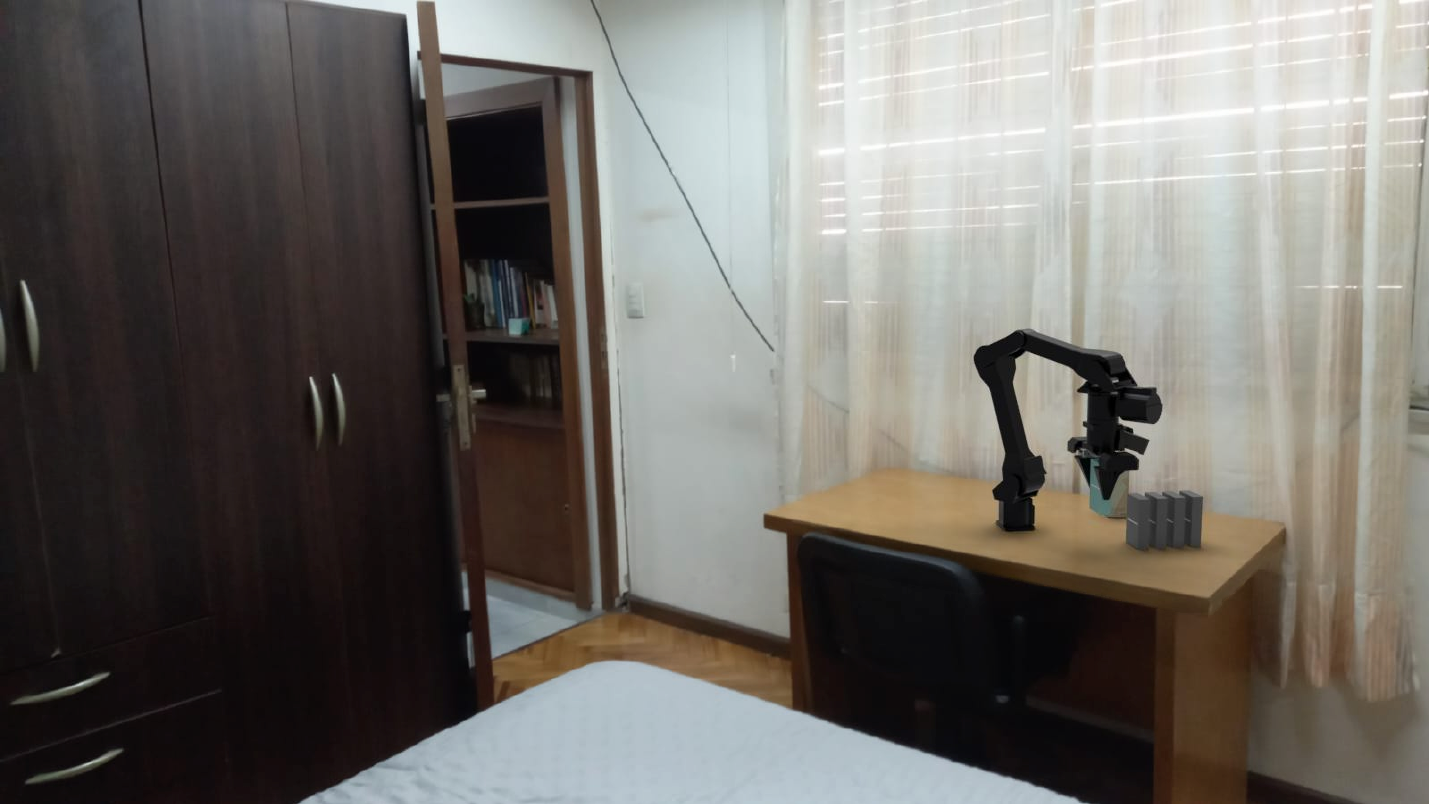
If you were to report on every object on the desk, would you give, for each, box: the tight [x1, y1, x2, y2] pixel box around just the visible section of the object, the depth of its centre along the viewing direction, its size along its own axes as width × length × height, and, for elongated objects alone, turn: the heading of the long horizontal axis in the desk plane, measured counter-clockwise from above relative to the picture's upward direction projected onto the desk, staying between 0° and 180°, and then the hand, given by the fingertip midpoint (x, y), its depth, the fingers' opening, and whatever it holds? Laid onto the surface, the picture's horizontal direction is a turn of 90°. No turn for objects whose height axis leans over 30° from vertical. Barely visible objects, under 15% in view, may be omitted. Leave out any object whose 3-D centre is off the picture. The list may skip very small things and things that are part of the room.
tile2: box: [1125, 492, 1150, 551], centre depth 187 cm, size 2×5×10 cm, turn 3°
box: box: [1106, 471, 1130, 518], centre depth 208 cm, size 5×4×11 cm
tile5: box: [1178, 489, 1204, 548], centre depth 187 cm, size 2×5×10 cm, turn 2°
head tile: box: [1089, 459, 1111, 516], centre depth 186 cm, size 2×5×10 cm, turn 3°
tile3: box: [1144, 491, 1168, 550], centre depth 187 cm, size 2×5×10 cm, turn 2°
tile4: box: [1161, 490, 1185, 549], centre depth 187 cm, size 2×5×10 cm, turn 3°
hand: (1100, 496), depth 186 cm, fingers closed on head tile, 5 cm apart
